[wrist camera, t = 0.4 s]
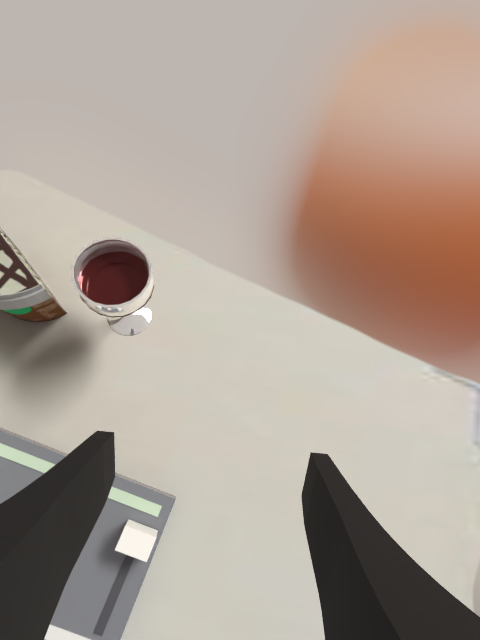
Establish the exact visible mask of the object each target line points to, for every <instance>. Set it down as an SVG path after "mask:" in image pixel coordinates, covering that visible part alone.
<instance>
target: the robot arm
mask: <svg viewBox="0 0 480 640" xmlns="http://www.w3.org/2000/svg"><path fill="white" fill-rule="evenodd" d="M114 479H115V451H114V432H104V431H96V432H95V433H94V434H93V435H91V436H90V437H89V438H88V439H86V440H85V441H84V442H83V443H82V444H80V445H79V446H78V447H77V448H76V449H74V450H73V451H72V452H71V453H70V454H68V455H67V456H66V457H65V458H63V459H62V460H61V461H60V462H58V463H57V464H56V465H55V466H53V467H52V468H51V469H49V470H48V471H47V472H46V473H44V474H43V475H42V476H40V477H39V478H37V479H36V480H35V481H33V482H32V483H31V484H29V485H28V486H26V487H25V488H24V489H22V490H21V491H19V492H18V493H16V494H15V495H13V496H12V497H10V498H9V499H7V500H6V501H4V502H3V503H1V504H0V640H44V638H45V635H46V633H47V630H48V628H49V625H50V622H51V620H52V617H53V615H54V612H55V610H56V607H57V605H58V602H59V600H60V597H61V595H62V592H63V590H64V587H65V585H66V583H67V581H68V578H69V576H70V574H71V572H72V570H73V568H74V566H75V564H76V562H77V560H78V558H79V556H80V554H81V552H82V550H83V548H84V546H85V544H86V542H87V540H88V538H89V536H90V534H91V532H92V530H93V528H94V526H95V524H96V522H97V520H98V518H99V516H100V514H101V512H102V510H103V508H104V506H105V503H106V501H107V498H108V495H109V493H110V490H111V487H112V484H113V481H114ZM302 506H303V516H304V525H305V530H306V535H307V540H308V545H309V550H310V554H311V559H312V564H313V569H314V573H315V578H316V583H317V588H318V592H319V598H320V603H321V609H322V617H323V625H324V633H325V640H480V617H479V616H477V615H476V614H475V613H474V612H472V611H471V610H470V609H469V608H467V607H466V606H465V605H464V604H463V603H461V602H460V601H459V600H458V599H456V598H455V597H454V596H453V595H452V594H450V593H449V592H448V591H447V590H446V589H445V588H443V587H442V586H441V585H440V584H439V583H438V582H437V581H435V580H434V579H433V578H432V577H431V576H430V575H429V574H428V573H427V572H426V571H425V570H424V569H422V568H421V567H420V566H419V565H418V564H417V563H416V562H415V561H414V560H413V559H412V558H411V557H410V556H409V555H408V554H407V553H406V552H405V551H404V550H403V549H402V548H401V547H400V546H399V545H398V544H397V543H396V542H395V541H394V540H393V539H392V537H391V536H390V535H389V534H388V533H387V532H386V531H385V530H384V529H383V527H382V526H381V525H380V524H379V523H378V521H377V520H376V519H375V518H374V517H373V516H372V514H371V513H370V512H369V511H368V509H367V508H366V507H365V505H364V504H363V503H362V502H361V500H360V499H359V498H358V496H357V495H356V494H355V492H354V491H353V490H352V488H351V487H350V485H349V484H348V483H347V481H346V480H345V478H344V477H343V476H342V474H341V473H340V471H339V470H338V468H337V467H336V466H335V464H334V463H333V461H332V460H331V458H330V457H329V456H328V454H320V453H311V454H310V459H309V463H308V468H307V473H306V477H305V482H304V486H303V491H302Z"/></svg>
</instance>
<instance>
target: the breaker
mask: <svg viewBox="0 0 480 640" xmlns="http://www.w3.org/2000/svg"><path fill="white" fill-rule="evenodd" d="M157 532H158V530H155V529H153V528H150V527H147V526H145V525H142V524H140V523H137V522H134V521H132V520H128V521H127V523H126V525H125V527H124V530H123V532H122V534H121V537H120V539H119V541H118V544H117V546H116V548H115V550H116V551H118V552H121V553H124V554H126V555H129V556H131V557H134V558H137V559H139V560H142V561H145V562H147V560H148V558H149V555H150V553H151V550H152V548H153V545H154V543H155V540H156V538H157Z"/></svg>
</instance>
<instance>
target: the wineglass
mask: <svg viewBox="0 0 480 640" xmlns="http://www.w3.org/2000/svg"><path fill="white" fill-rule="evenodd" d="M71 279H72V282H73V285H74V287H75V290H76V291H77V292H78V293H79V295H80V298H81V299H82V300H83V302H84V303H85V304H86V305H87V306H88V307H89V308H90V309H91V310H93V311H95V312H96V313H98V314H100V315H104V316H108V322H109V325H110V326H111V328H112V329H113V330H114V331H116V332H117V333H119V334H122V335H126V336H128V335H135V334H138V333H140V332H142V331H143V330H144V329H145V328H146V327H147V326H148V324H149V322H150V319H151V311H150V308H149V306H148V304H147V302H148V300H149V299H150V298H151V295H152V292H153V289H154V277H153V272H152V269H151V263H150V261H149V258H148V256H147V254H146V253H145V252H144V251H143V250H142V249H141V247H140V246H138V245H136V244H135V243H133V242H131V241H129V240H125V239H122V238H103V239H99V240H96V241H93V242H91V243H90V244H88V245H87V246H85V247H83V249H82V250H81V251H80V252H79V253H78V254H77V255H76V257H75V259H74V262H73V264H72V267H71Z"/></svg>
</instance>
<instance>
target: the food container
mask: <svg viewBox="0 0 480 640" xmlns="http://www.w3.org/2000/svg"><path fill="white" fill-rule="evenodd" d="M0 310H3V311H5V312H7V313H9V314H11V315H12V316H14V317H16V318H18V319H21V320H24V321H30V322H43V321H49V320H53V319H56V318H59V317H61V316H63V315H65V314H66V311H65V310H64V309H63V307H62V306H61V305H60V303H59V302H58V301H57V299H56V298H55V297H54V295H53V294H52V293H51V291H50V290H49V289H48V287H47V286H46V285H45V283H44V282H43V281H42V279H41V278H40V277H39V275H38V274H37V273H36V271H35V270H34V269H33V267H32V266H31V265H30V263H29V262H28V261H27V259H26V258H25V257H24V255H23V254H22V253H21V252H20V250H19V249H18V248H17V247H16V246H15V244H14V243H13V242H12V241H11V240H10V239H9V237H8V236H7V235H6V234H5V233H4V231H3V230H2V229H1V228H0Z"/></svg>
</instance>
